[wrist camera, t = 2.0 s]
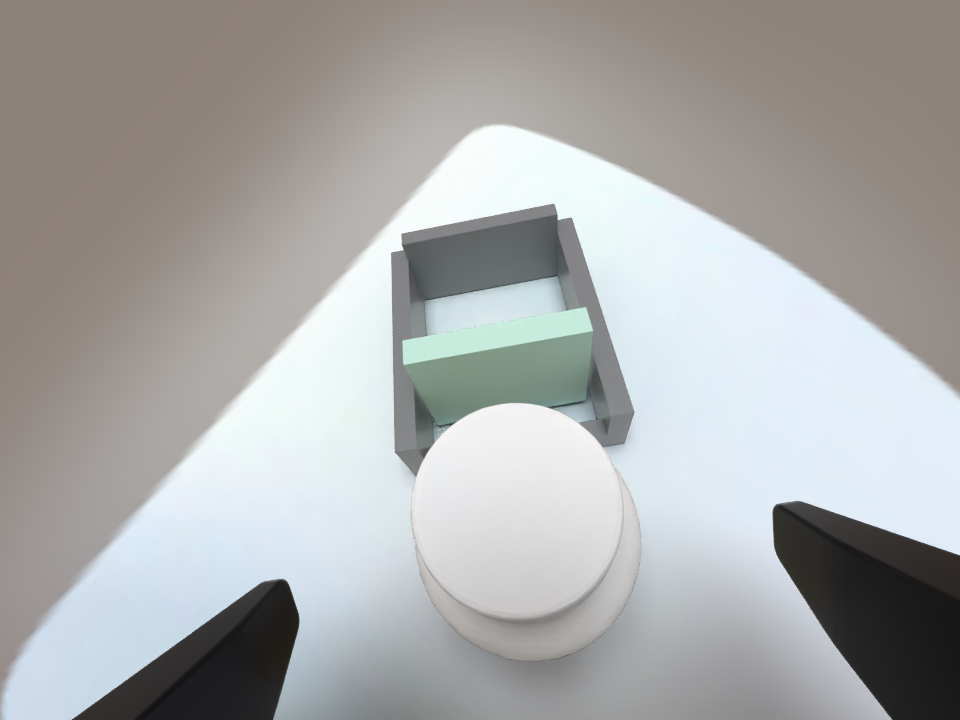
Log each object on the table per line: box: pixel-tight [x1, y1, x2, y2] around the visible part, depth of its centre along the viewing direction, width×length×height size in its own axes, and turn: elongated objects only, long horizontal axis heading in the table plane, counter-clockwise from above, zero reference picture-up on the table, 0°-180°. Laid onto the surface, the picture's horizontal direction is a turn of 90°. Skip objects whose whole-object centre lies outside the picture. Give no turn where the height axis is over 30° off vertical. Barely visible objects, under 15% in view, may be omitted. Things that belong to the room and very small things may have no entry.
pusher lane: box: [391, 204, 634, 477], centre depth 20 cm, size 10×9×4 cm
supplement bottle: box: [411, 403, 641, 662], centre depth 13 cm, size 5×5×10 cm
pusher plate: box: [402, 307, 593, 425], centre depth 18 cm, size 1×6×5 cm, turn 97°
